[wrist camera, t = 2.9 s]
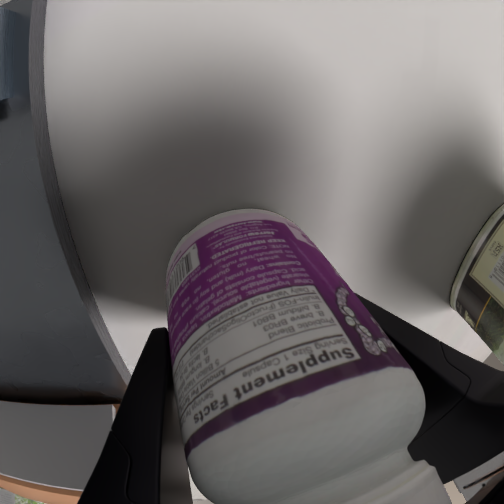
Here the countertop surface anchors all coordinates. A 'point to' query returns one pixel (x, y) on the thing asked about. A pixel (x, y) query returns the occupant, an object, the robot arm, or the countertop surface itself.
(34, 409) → the block
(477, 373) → the robot arm
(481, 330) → the coffee can
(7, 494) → the syrup box
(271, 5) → the countertop surface
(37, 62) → the base
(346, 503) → the pill bottle
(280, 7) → the countertop surface
